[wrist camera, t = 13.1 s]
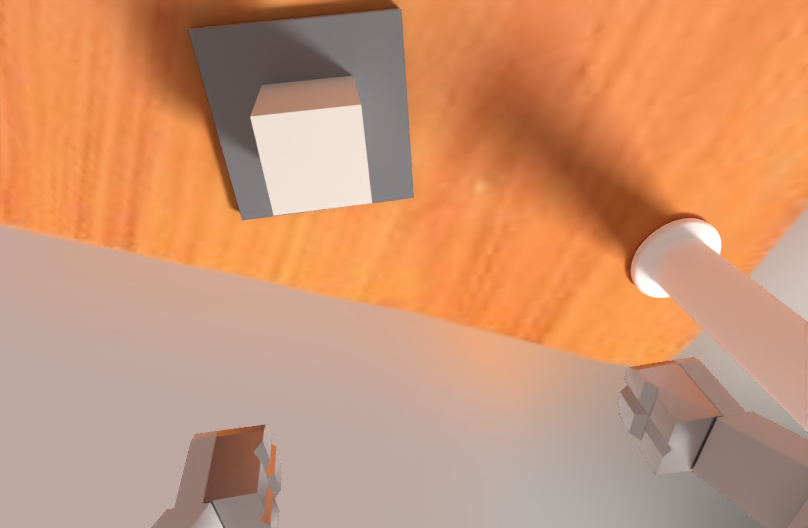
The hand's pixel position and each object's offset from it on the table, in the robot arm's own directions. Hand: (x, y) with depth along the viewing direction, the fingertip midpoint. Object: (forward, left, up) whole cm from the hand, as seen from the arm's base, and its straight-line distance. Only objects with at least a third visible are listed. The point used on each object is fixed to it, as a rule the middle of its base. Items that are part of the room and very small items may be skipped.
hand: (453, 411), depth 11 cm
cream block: (0, -3, -22) cm, 22 cm away
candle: (+14, +23, -23) cm, 35 cm away
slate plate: (0, -3, -23) cm, 23 cm away
